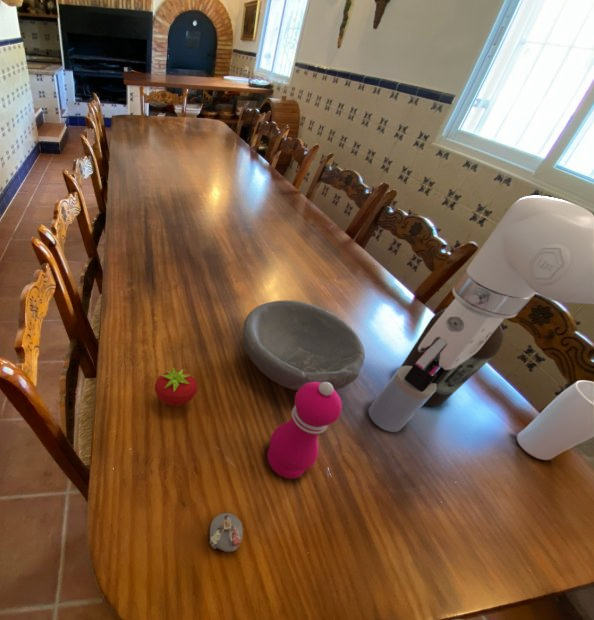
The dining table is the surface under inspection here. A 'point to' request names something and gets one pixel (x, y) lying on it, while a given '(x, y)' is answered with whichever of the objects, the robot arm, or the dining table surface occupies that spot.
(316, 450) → the pepper mill
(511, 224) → the robot arm
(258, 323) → the bowl
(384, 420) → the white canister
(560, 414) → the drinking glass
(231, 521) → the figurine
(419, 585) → the dining table surface
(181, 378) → the red tomato
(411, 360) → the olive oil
